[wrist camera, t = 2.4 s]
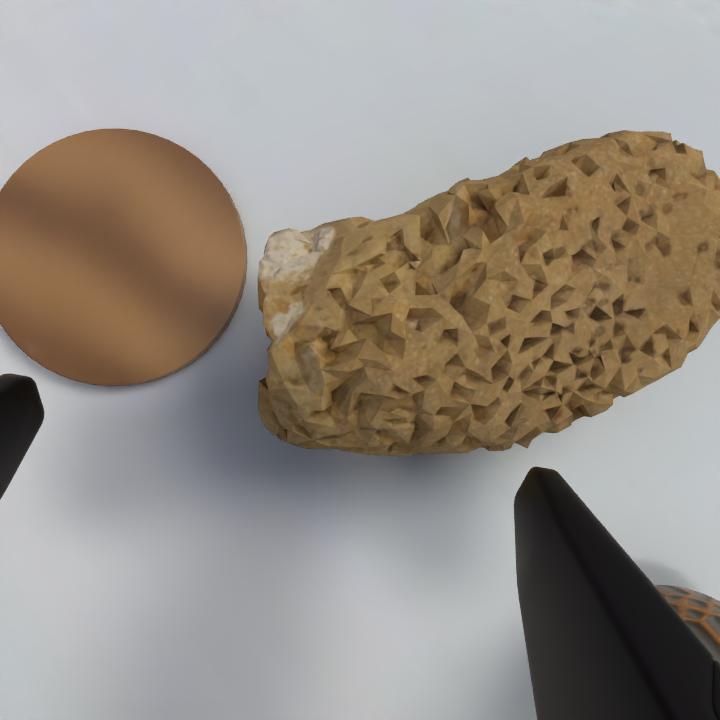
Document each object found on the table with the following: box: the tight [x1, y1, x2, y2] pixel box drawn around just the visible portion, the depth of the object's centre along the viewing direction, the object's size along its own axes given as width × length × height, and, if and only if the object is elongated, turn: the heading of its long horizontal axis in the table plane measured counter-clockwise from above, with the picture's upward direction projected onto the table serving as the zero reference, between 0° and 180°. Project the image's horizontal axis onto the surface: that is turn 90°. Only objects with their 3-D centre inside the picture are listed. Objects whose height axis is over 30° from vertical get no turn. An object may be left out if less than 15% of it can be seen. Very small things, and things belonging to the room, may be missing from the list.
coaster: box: [0, 129, 247, 386], centre depth 23 cm, size 12×12×1 cm
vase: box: [654, 585, 720, 662], centre depth 19 cm, size 7×7×9 cm
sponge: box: [258, 130, 720, 456], centre depth 20 cm, size 13×8×20 cm
